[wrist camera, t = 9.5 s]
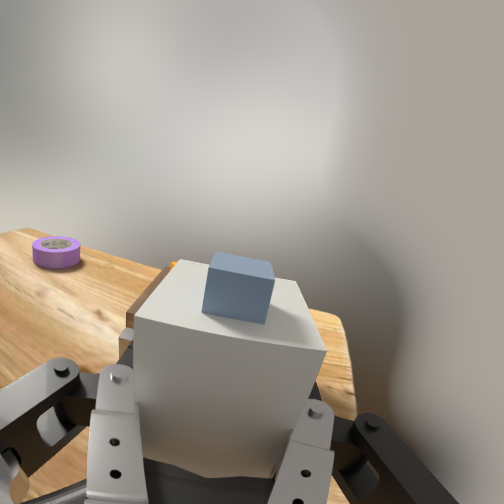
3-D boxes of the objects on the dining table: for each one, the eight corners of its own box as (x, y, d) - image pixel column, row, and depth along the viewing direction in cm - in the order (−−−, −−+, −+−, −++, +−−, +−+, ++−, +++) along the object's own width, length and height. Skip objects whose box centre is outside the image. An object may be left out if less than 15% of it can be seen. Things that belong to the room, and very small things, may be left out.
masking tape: (35, 271, 47) (35, 253, 46) (30, 252, 54) (30, 236, 53) (85, 267, 56) (86, 250, 55) (73, 250, 63) (74, 235, 62)
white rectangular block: (144, 504, 9) (137, 265, 6) (164, 432, 13) (185, 228, 11) (248, 521, 9) (346, 305, 6) (247, 447, 14) (305, 252, 11)
